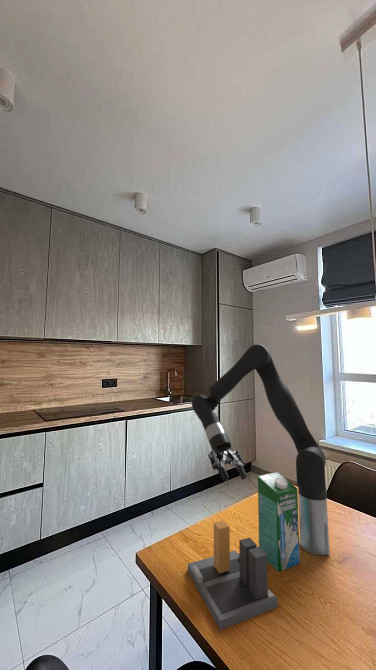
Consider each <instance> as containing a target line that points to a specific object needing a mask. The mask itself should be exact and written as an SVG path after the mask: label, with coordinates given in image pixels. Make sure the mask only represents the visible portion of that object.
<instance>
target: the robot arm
mask: <svg viewBox="0 0 376 670" xmlns="http://www.w3.org/2000/svg"><path fill="white" fill-rule="evenodd" d="M253 371H256V373H257V374H258V376H259V378H260V380H261V383H262V385H263V388H264V392H265V395H266V399H267V400H268V403H269V404H268V405H269V406H270V408H271V410H272V412H273V414H274V416H275V417H276V419H277V420H278V422H279V423H280V424H281V426H282V427H283V428H284V429H285V431H286V432H287V433H288V435H289V436H290V438H291V439H292V442H293V443H294V446H295V449H296V451H297V454H296V457H295V472H296V474H295V475H296V485H297V494H298V523H299V546H301V548H302V549H303V550H304V551H306V552H308V553H309V554H311V555H315V556H329V557H330V534H329V533H330V531H329V516H328V515H329V513H328V496H327V495H328V493H327V488H326V487H327V485H326V473H325V471H326V470H325V469H326V468H325V467H326V464H327V460H326V456H325V455H326V454H325V453H324V452H323V449H322V448H321V447H320V445H319V444H318V443H317V441H316V439H315V438H314V437H313V434H312V433H311V431H310V430H309V428H308V426H307V424H306V421H305V419H304V416H303V415H302V413H301V412H302V411H301V410H300V408H299V405H298V404H297V402H296V400H295V398H294V396H293V395H292V392H291V390H289V388H288V386H287V385H286V383H285V382H284V380H283V379H282V377H281V376H280V374H279V372H278V370H277V367H276V365H275V363H274V360H273V358H272V355H271V352H270V350H269V349H268V348H266V347H265V346H264V345H263V344H258V343H257V344H252V345H251V346H249V347H248V348H247V350H246V351H245V352H244V353H243V355H242V356H241V357H240V358H239V360H238V361H237V362H236V363H234V365H233V366H232V367H231V368H230V369H229V370H227V372H226V373H224V374H223V375H222V376H221V377H220V378H219V379H217V380H216V381H215V382H214V383H213V384H211V385H210V387H209V388H208V392H209V395H208V396H206V395H204V394H202V393H200V394H199V393H198V394H195V395H194V396H192V399H191V407H192V409H193V412H194V413H195V415H196V416H197V418H198V420H200V422H201V424H202V427H203V429H204V432H205V436H206V438H207V441H208V443H209V446H210V448H211V451H210V452H209V453H208V457H209V458H208V459H209V461H210V464H211V467H212V470H214V471H215V470H217V471H218V472H219V474H220V477H221V479H222V481H224V482H227V481H229V479H230V477H229V475H228V472H227V470H226V468H225V465H231V466H232V467H235V468H236V469H237V472H238V473H239V474H238V475H239V476H240V479H241V480H242V481H243V480H245V479H247V476H248V475H247V473H246V470H245V466H246V464H247V462H246V461H245V459H244V457H243V455H242V453H241V451H240V450H239V449H236V450H235V451H234V450H233V449H232V442H231V440H230V439H229V438H230V437H229V436H228V434H227V432H226V430H225V428H224V427H223V424H222V422H221V421H220V419H219V417H218V415H217V414H216V413H215V412H214V410H216V408H217V406H218V405H219V404H220V402H221V401H222V399H223V398H225V397H226V396H227V395H229V393H231V392H232V391H233V390H234V389H235V388H236V387H237V385H238V384H239V383H240V382H241V381H242V380H243V379H244V378H245V377H246V376H247V375H248V374H249V373H250V374H251V372H253Z"/></svg>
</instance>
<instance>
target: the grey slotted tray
mask: <svg viewBox="0 0 376 670" xmlns="http://www.w3.org/2000/svg"><path fill="white" fill-rule="evenodd" d="M238 543H239V545H238V546H239V550H238V551H239V552H238V551H236V550H232V551H231V550H230V570H229V571H226V572H223V573H219V572H218V571H217V569H216V568H215V567H214V556H210V557H207V558H203V559H200V560H196V561H193V562H189V563H187V573H188V572H189V573H188V574H189V576H190V578H191V580H192V581H193V584H194V585H195V587H196V589H197V591H198V592H199V594H200V596H201V599H202V600H203V602H204V604H205V605H206V607H207V609H208V611H209V612H210V614H211V616H212V618H213V620H214V621H215V624H216V625H217V627H218V629H219V631H222V630H224V629H227V628H229V627H231V626H233V625H234V626H235V625H238V624H239V623H242V622H244V621H247V620H249V619H252V618H254V617H257V616H259V615H262V614H265V613H267V612H270V611H272V610H274V609H277V608H278V607H279V603H278V597H277V596H276V595H275V594H274V593H273V592H272V591H271V590H270V588H269V587H268V584H269V583H268V562H267V554H266V553H265V552H264V551H263V550H262V549H261V548H260V547H259V546H258V544H257V543H256V542H254V540H253V539H252V537H251V538H250V537H247V538H246V537H245V538H244V539H243V538H242V539H239V542H238Z"/></svg>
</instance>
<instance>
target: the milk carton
mask: <svg viewBox="0 0 376 670" xmlns="http://www.w3.org/2000/svg"><path fill="white" fill-rule="evenodd" d="M257 496H258V497H257V499H258V500H257V503H258V505H257V506H258V515H257V516H258V547H260V548H261V549H262V550H263V551H264V552H265V553H266V554H267V564H269V565H270V566H272V567H273V568H274V570H276V571H278V573H280V572H283V571H285V570H287V569H289V568H292V567H295V566H296V565H299V564H300V563H301V561H300V559H301V556H300V524H299V495H298V487H296V486H295V485H294V484H293V483H292V482H290V481H289V480H288V479H287V478H286V477H284V476H283V475H281V474H280V473H279V471H276V472H272V473H271V472H270V473H266V474H261V475H258V476H257Z"/></svg>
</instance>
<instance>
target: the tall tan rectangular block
mask: <svg viewBox="0 0 376 670" xmlns="http://www.w3.org/2000/svg"><path fill="white" fill-rule="evenodd" d="M230 536H231V535H230V525H229V524H227V522H226V521H225V520H220V521H214V522H213V557H214V567H215V568H216V569H217V571H218V572H219V573H223V572H226V571H229V570H230V552H231V550H230V549H231V547H230V544H231V543H230V540H231V539H230Z"/></svg>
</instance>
